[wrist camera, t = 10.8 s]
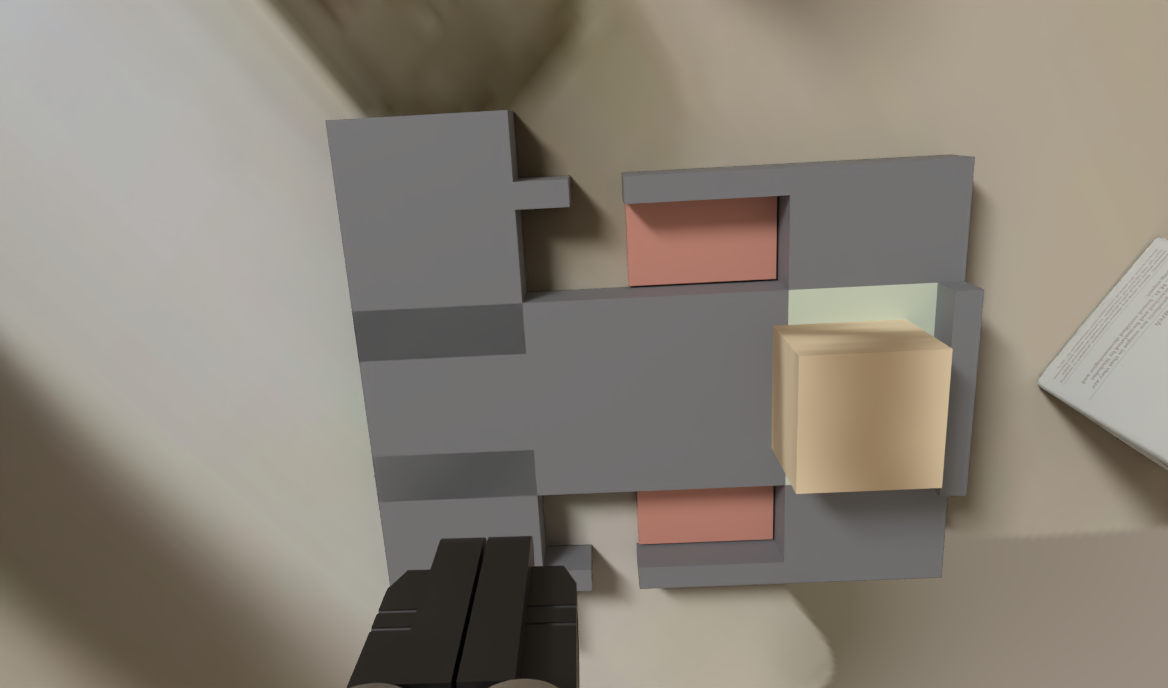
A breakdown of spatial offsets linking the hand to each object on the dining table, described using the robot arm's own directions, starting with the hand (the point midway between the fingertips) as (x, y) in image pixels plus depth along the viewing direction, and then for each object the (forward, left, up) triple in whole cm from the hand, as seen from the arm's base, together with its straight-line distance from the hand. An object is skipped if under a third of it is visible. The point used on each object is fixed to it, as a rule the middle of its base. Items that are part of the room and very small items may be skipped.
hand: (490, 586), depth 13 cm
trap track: (+4, -3, -20) cm, 20 cm away
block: (+11, -3, -18) cm, 21 cm away
